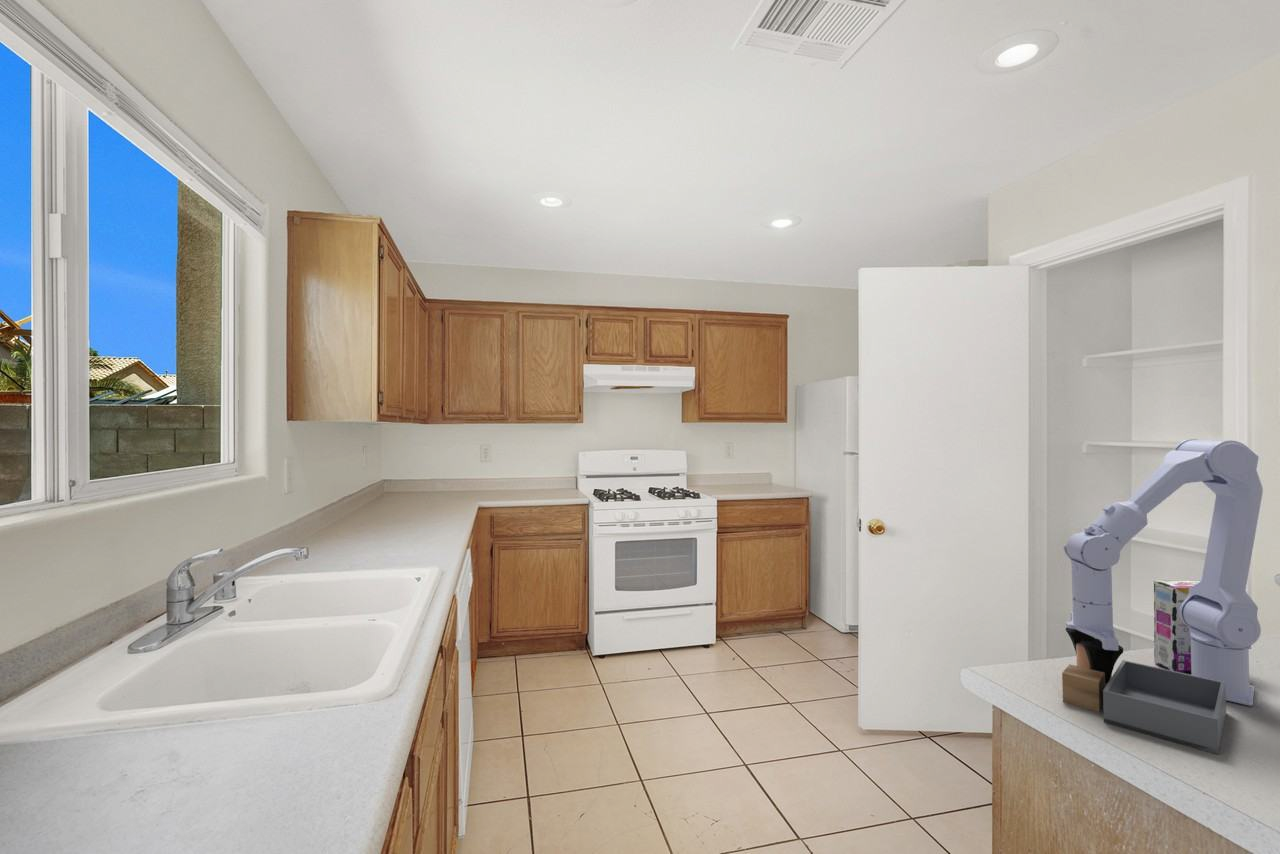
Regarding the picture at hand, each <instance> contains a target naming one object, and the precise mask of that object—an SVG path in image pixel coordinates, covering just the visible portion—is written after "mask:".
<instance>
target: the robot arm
mask: <svg viewBox="0 0 1280 854" xmlns="http://www.w3.org/2000/svg"><path fill="white" fill-rule="evenodd" d="M1258 462H1259V455H1258V454H1256V453H1255V452H1254V451H1252V449H1251V448H1249V447H1248V446H1247V445H1246V444H1244V443H1243V442H1240V441H1238V440H1231V439H1230V440H1229V439H1228V440H1227V439H1226V440H1208V439H1207V440H1205V439H1203V440H1202V439H1201V440H1200V439H1197V438H1191V439H1190V438H1189V439H1185V440H1182V441H1180V442H1178V443H1177V444H1176V445H1175V446H1174V448H1173V449H1172V450H1170V451H1168V452H1167V453H1165V455H1164V458H1163V461H1162V463H1161V464H1160V465H1159V467H1157V468H1156V469H1155V471H1154V472H1153V473H1152V474H1151V475H1150V476H1149V477H1148V478H1147V479H1146V480H1145V481H1144V482H1143V484H1142V485H1141V486H1140V487H1139V488H1137V490H1136V491H1135V492H1134V493H1133V494H1132V495H1131V496H1130V498H1128V499H1127V500H1126V501H1115V502H1113V503H1112V504H1106V505H1105V506H1104V507H1103V508H1102V510H1103V511H1104V512H1102V513H1101V514H1100V515H1099V516H1098V517H1097V518H1096V519H1094V521H1093V522H1091V524H1090V525H1089V524H1087V525H1085V526H1084V527H1083V530H1084V531H1079V532H1077V533H1074V534H1073V535H1071V536H1070V537H1069V538H1068V540H1067V543H1066V545H1063V551H1064V553H1065V555H1066V557H1068V559H1069V560H1070V562H1071V589H1072V590H1071V591H1072V592H1071V593H1072V611H1070V621H1065V622H1064V623H1065V626H1066V627H1065V631H1066V633H1067V635H1068V637H1070V640H1071V642H1072V645H1073V648H1074V652H1076V644H1077V643H1082V645H1083V647H1084V649H1085V651H1086V653H1087V656H1088V659H1089V664H1090V669H1091V670H1096V671H1100V672H1104V673H1105V683H1106V684H1108V682H1109V681H1110V678H1111V674H1112V675H1113V670H1114V667H1115V664H1116V663H1117V661H1118V659H1119V658H1120V657H1121V655H1122V654H1123V653H1124V648H1123V646H1122V645H1120V644H1119V639H1118V638H1117V637H1116V632H1115V631H1116V630H1115V629H1116V628H1115V627H1114V621H1113V620H1114V615H1113V614H1114V613H1113V611H1114V610H1113V576H1112V574H1113V573H1112V567H1113V566H1115V565H1117V564H1118V563H1119V560H1120V559H1121V551H1122V549H1123V548H1124V547H1125V546H1126V545H1127V544H1128V543H1129V542H1130V541H1132V540H1133V538H1134V537H1136V535H1138V534H1139V533H1140V532H1141V531H1142V530H1143V529H1144V528H1145V527H1146V526H1148V514H1149V513H1150V512H1151V511H1152V510H1154V509H1155V508H1156V507H1157V506H1159V505H1160V504H1162V503H1163V501H1165V500H1166V499H1167V498H1169V497H1170V496H1171V495H1172V494H1173V493H1175V492H1176V491H1178V490H1179V489H1180V488H1181V487H1182V486H1183V485H1186V484H1191V483H1199V482H1202V483H1203V484H1204V485H1205V486H1206V487H1207V488H1209V490H1211V491H1212V493H1214V494H1215V500H1214V507H1213V512H1212V516H1211V517H1212V518H1211V524H1210V529H1209V535H1208V540H1207V547H1206V553H1205V558H1204V563H1203V564H1204V565H1203V568H1202V575H1201V580H1199V581H1200V582H1199V583H1197V584H1195V585H1194V586H1192V587H1190V588H1189V593H1188V596H1187V598H1186V599H1185V600H1184V602H1183V603H1182V604H1181V606H1180V610H1179V614H1180V617H1181V620H1182V621H1183V622H1184V624H1186V625H1187V626H1188V627H1189V633H1190V636H1191V673H1190V675H1194V676H1199V677H1203V678H1208V679H1212V680H1217V681H1222V682H1226V702H1227V701H1228V702H1233V703H1236V704H1241V705H1244V706H1250V707H1251V706H1254V694H1255V686H1254V685H1251V684H1250V657H1249V656H1250V655H1249V654H1250V652H1249V650H1251V649H1252V645H1254V644H1255V643H1257V641H1258V640H1259V638H1260V636H1261V632H1262V630H1261V629H1262V628H1261V624H1260V621H1259V619H1258V611H1259V606H1258V605H1257V604H1256V602H1255V601H1254V600H1253V599H1252V598H1251V596H1250V595H1249V594H1248V592H1247V590H1246V589H1247V583H1248V579H1249V573H1250V567H1251V561H1252V557H1253V549H1254V545H1255V539H1256V534H1257V532H1256V531H1257V527H1258V520H1259V514H1260V509H1261V505H1262V504H1261V503H1262V499H1263V498H1262V497H1263V493H1264V491H1263V485H1262V483H1261V479H1260V476H1259V474H1258V470H1257V468H1258Z"/></svg>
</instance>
